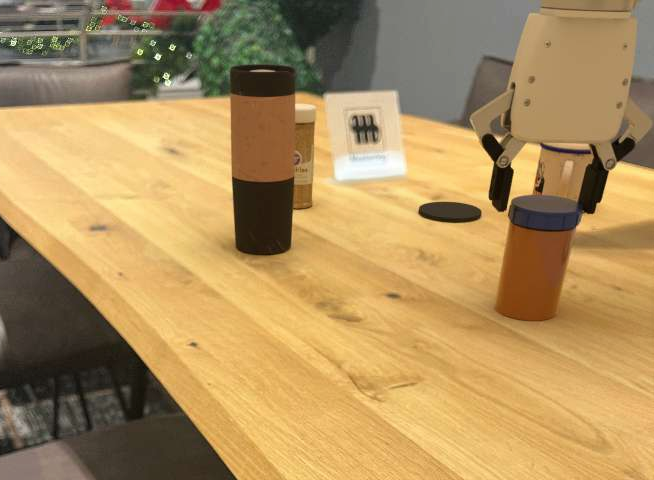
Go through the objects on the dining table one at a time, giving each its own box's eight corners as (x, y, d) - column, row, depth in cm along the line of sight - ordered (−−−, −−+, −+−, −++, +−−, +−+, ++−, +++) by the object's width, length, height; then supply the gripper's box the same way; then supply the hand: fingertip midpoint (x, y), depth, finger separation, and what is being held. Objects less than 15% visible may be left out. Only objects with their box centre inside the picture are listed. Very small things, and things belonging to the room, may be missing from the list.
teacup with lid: (531, 196, 119) (547, 114, 113) (592, 202, 117) (612, 118, 110) (524, 216, 110) (541, 127, 103) (590, 222, 108) (612, 132, 101)
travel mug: (224, 242, 99) (218, 65, 87) (276, 234, 102) (277, 63, 90) (249, 259, 93) (246, 73, 82) (303, 250, 96) (308, 70, 85)
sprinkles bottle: (281, 208, 112) (282, 107, 104) (284, 200, 116) (285, 102, 108) (312, 209, 112) (315, 108, 104) (314, 201, 116) (317, 103, 108)
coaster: (473, 205, 115) (474, 201, 114) (487, 222, 107) (488, 218, 107) (414, 205, 115) (414, 201, 114) (423, 222, 107) (424, 217, 107)
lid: (566, 211, 78) (570, 195, 77) (589, 230, 73) (593, 213, 72) (501, 210, 78) (503, 194, 77) (518, 229, 73) (521, 212, 72)
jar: (546, 298, 83) (568, 199, 77) (564, 321, 78) (589, 216, 72) (488, 298, 83) (505, 199, 77) (502, 320, 78) (522, 216, 72)
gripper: (670, -3, 68) (615, 201, 78) (476, -9, 68) (446, 197, 78) (710, 1, 62) (644, 222, 72) (497, -5, 61) (461, 218, 72)
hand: (542, 208), depth 75 cm, fingers open, 8 cm apart
